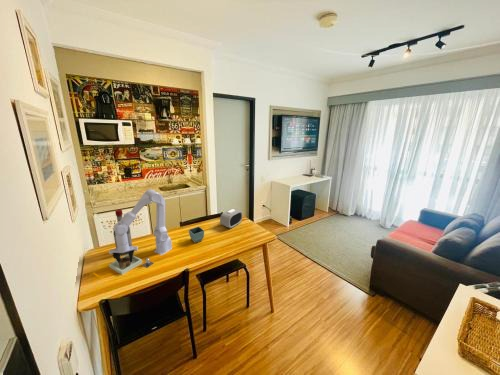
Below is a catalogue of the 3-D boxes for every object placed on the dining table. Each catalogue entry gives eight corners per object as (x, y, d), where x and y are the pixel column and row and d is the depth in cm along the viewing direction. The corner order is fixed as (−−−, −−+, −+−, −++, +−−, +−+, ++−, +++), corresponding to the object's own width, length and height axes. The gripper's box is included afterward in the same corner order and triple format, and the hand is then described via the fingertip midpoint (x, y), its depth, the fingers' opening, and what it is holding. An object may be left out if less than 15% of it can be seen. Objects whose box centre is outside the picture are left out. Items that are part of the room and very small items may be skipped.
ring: (132, 260, 127) (131, 256, 126) (129, 266, 121) (129, 262, 121) (122, 261, 125) (121, 257, 125) (119, 268, 120) (118, 264, 119)
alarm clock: (228, 230, 170) (228, 216, 166) (220, 227, 175) (219, 213, 171) (242, 222, 187) (243, 208, 183) (234, 219, 192) (234, 206, 188)
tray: (130, 257, 132) (129, 253, 132) (142, 263, 127) (142, 259, 126) (109, 268, 122) (108, 264, 121) (122, 275, 116) (121, 271, 115)
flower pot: (194, 245, 148) (193, 234, 145) (188, 240, 154) (188, 229, 152) (204, 241, 153) (204, 230, 151) (199, 236, 160) (198, 226, 157)
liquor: (117, 256, 132) (109, 214, 124) (117, 249, 139) (110, 209, 131) (133, 252, 137) (127, 211, 128) (132, 246, 144) (126, 206, 136)
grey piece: (148, 261, 129) (148, 255, 128) (154, 264, 127) (153, 257, 125) (141, 265, 125) (140, 259, 123) (146, 268, 122) (146, 262, 121)
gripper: (137, 237, 125) (140, 256, 129) (110, 240, 121) (114, 259, 125) (135, 243, 119) (138, 263, 123) (106, 246, 115) (110, 267, 119)
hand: (125, 262), depth 124 cm, fingers closed on ring, 5 cm apart
